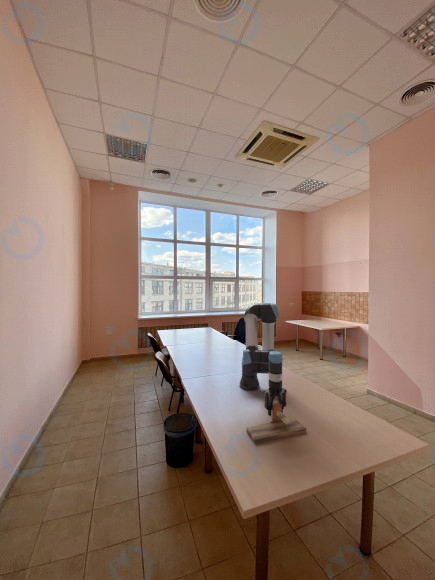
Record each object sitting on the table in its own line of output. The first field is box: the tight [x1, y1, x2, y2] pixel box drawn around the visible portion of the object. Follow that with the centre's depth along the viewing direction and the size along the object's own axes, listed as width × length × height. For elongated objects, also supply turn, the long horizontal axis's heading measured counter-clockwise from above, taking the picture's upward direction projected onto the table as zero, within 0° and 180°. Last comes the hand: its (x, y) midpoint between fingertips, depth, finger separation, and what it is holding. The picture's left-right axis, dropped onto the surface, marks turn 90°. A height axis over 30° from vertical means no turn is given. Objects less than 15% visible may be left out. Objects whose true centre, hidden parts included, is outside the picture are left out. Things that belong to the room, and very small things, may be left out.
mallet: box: [272, 399, 290, 428], centre depth 127 cm, size 15×5×10 cm, turn 17°
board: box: [245, 417, 307, 444], centre depth 123 cm, size 10×30×2 cm, turn 107°
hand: (275, 419), depth 132 cm, fingers closed on mallet, 5 cm apart
